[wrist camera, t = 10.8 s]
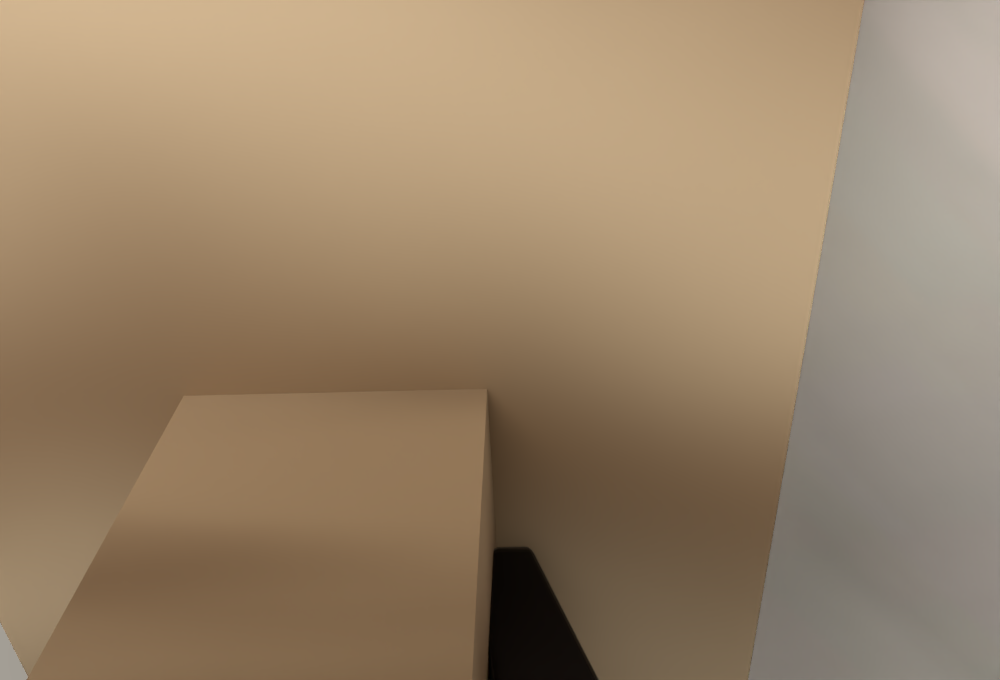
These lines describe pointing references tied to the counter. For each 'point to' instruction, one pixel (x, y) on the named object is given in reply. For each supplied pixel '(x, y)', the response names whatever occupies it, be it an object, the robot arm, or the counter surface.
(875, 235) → the counter surface
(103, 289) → the lid
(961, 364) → the counter surface
